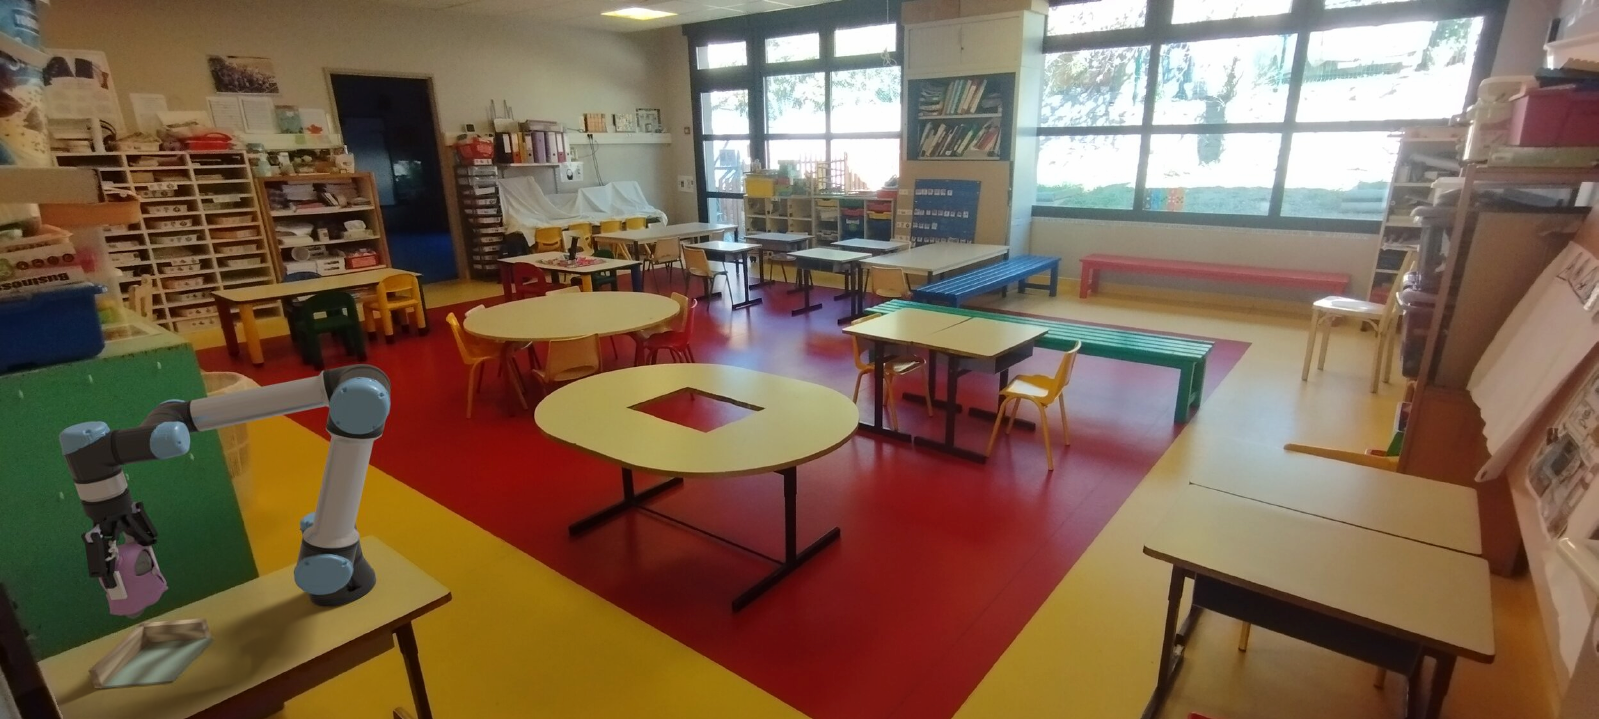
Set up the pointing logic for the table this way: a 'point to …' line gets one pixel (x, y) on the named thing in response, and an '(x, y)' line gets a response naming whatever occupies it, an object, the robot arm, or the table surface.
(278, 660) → the table surface
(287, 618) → the table surface
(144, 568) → the toy character
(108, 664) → the tray
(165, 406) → the robot arm
